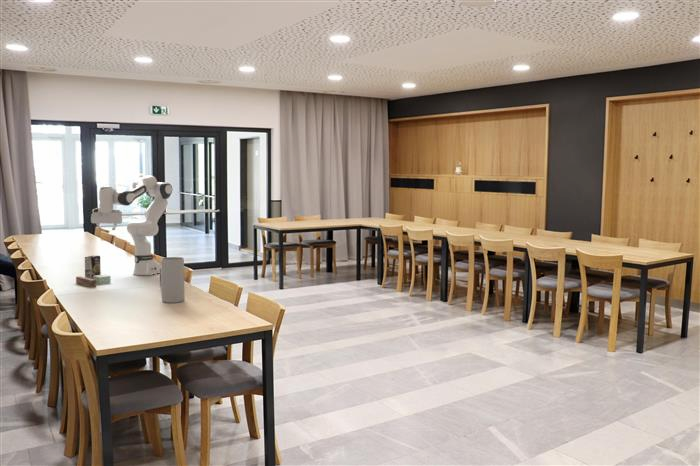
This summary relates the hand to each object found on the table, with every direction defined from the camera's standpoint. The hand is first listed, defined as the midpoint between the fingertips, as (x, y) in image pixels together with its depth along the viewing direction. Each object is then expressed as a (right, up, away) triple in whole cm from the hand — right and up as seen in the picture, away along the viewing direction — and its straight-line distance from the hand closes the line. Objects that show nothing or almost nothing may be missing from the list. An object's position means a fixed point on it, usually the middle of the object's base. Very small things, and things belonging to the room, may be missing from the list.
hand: (106, 230), depth 413 cm
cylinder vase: (+63, -42, -61) cm, 97 cm away
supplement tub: (+51, -38, -24) cm, 68 cm away
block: (0, -36, -8) cm, 37 cm away
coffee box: (-12, -34, +5) cm, 37 cm away
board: (-7, -36, -16) cm, 40 cm away
